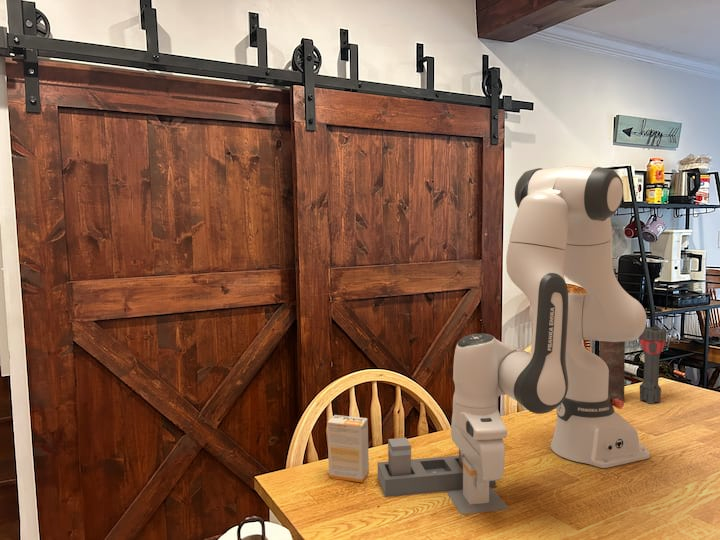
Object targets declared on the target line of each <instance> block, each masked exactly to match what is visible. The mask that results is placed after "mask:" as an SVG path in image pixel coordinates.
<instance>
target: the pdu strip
mask: <svg viewBox="0 0 720 540" xmlns="http://www.w3.org/2000/svg"><path fill="white" fill-rule="evenodd" d="M377 480H378V483H379V485H380V487H381V489H382V493H383V494H384V495H383V496H384V497H385V498H389V497H399V496H408V495H420V494H427V493H428V494H429V493H431V494H432V493H440V492H446V491H450V490H460V489H463V469H462V468H461V466H460V465H459V454H458V455H447V456H437V457H435V456H434V457H425V458H424V457H423V458H414V459H413V458H411V475H401V476H389V474H388V461H378V462H377ZM496 481H497V480H495V481H489V487H492V488H493V487H496Z"/></svg>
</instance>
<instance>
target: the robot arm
mask: <svg viewBox="0 0 720 540" xmlns="http://www.w3.org/2000/svg"><path fill="white" fill-rule="evenodd" d="M623 197H624V183H623V180H622V177H621V176H620V175H619V174H618V173H617V172H616V170H615V169H611V168H607V167H600V166H597V167H588V166H575V165H574V166H573V165H570V166H569V165H568V166H564V167H562V166H561V167H551V168H541V167H539V168H533V169H530V170H526V171H524V172H523V174H522V175H521V176H520V177H519V178H518V180H517V182H516V185H515V188H514V201H515V204H516V207H517V211H516V215H515V218H514V220H513V224H512V227H511V230H510V235H509V240H508V244H507V245H508V246H507V250H506V251H507V252H506V264H505V265H506V273H507V275H508V277H509V279H510V280H511V282H512V283H513V284H514V285H515V286H516V287H517V288H518V289H519V290H520V291H521V292H522V293H523V294H524V295H525V296H526V298H527V300H528V302H529V304H530V308H529V312H528V313H529V314H528V315H529V316H528V317H529V320H530V323H531V325H532V333H531V334H532V336H531V347H530V352H528V351H525V350H523V349H522V348H518V347H514V346H511V345H508V344H506V343H504V342H502V341H500V340H499V339H496V337H495V336H493V335H492V334H489V333H473V334H468V335H466V336H464V337H462V338H461V339H459V340H458V342H457V343H456V346H455V349H454V357H453V373H452V375H453V376H452V380H453V383H454V384H453V385H454V393H453V395H452V396H453V397H452V416H451V426H450V435H451V436H450V437H451V441H452V442H453V444H454V445H455V446H456V447H457V449H458V450H459V449H460V451H461V458H462V462H463V457H466V458H467V460H468V461H469V462H470V463H471V465H472V466H473V467H474V468H475V470H476V471H477V475H478V476H477V479H475V487H476V488H477V490H478V491H485V490H486V482H487V481H495V480H496V481H501V479H502V477H503V476H504V473H505V472H504V471H505V455H506V447H505V441H504V439H507V436H508V429H507V426H506V424H505V423H504V421H503V419H502V417H501V414H500V411H499V407H498V406H499V400H498V399H499V397H500V396H508V397H509V398H511V399H513V400H515V401H516V402H517V403H518V404H520V405H521V406H522V407H523V408H525V409H526V410H527V411H529V412H531V413H533V414H537V415H541V414H542V415H543V414H547V413H550V412H553V411H554V410H555V409H556V415H557V416H556V422H555V429H554V432H553V433H554V434H553V437H552V440H551V443H550V445H549V446H550V449H551V451H552V452H554V453H555V454H556V455H558V456H559V457H562V458H564V459H566V460H570V461H573V462H576V463H581V464H582V463H583V464H588V465H591V466H594V467H596V468H601V469H606V468H607V469H608V468H612V467H616V466H621V465H626V464H629V463H634V462H638V461H643V460H648V459H650V458H651V455H650V451H649V449H647V448H646V447H645V445H643V444H642V443H640V438H639V433H638V431H637V429H636V428H635V426H634V425H633V424H631V423H630V422H629V421H627V420H626V419H625V418H623V416H622V415H620V414H619V413H617V411H615V409H614V407H615V408H617V409H618V410H621V409H623V408H624V407H625V402H623V401H620V400H619V399H614V400H613V398H612V397H610V396H608V381H609V369H608V366H607V364H606V363H605V362H604V361H603V360H602V359H601V358H600V357H599V355H597V354H595V353H593V352H591V351H590V350H588V349H587V348H586V346H585V345H584V344H583V341H582V340H589V341H598V342H599V341H607V342H623V341H625V342H633V341H636V340H637V339H640V338H639V337H640V336H641V334H642V333H643V332H644V330H645V327H646V326H647V320H648V319H647V314H646V310H645V308H644V307H643V305H642V303H640V301H639V300H637V299H636V298H635V297H633V296H632V295H630V294H629V293H628V292H627V291H626V290H625V289H624V288H623V287H622V286H621V284H620V283H619V281H618V279H617V277H616V273H615V271H614V265H613V253H612V251H613V250H612V246H613V245H612V241H613V239H612V234H613V233H612V232H613V231H612V222H611V221H612V220H611V217H612V216H614V214H615V213H616V212H617V211H618V210H619V209H620V206H621V203H622V200H623ZM565 277H566V278H567V279H568V281H571V282H572V283H575V284H577V285H579V286H580V287H581V288H582V289H583V290H584V291H585V292H586V293H580V292H578V293H577V292H569V290H568V289H569V288H568V285H567V283H566V280H565Z"/></svg>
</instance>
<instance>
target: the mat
mask: <svg viewBox="0 0 720 540" xmlns="http://www.w3.org/2000/svg"><path fill="white" fill-rule="evenodd" d="M445 492H446V493H447V495H448V497H449V498H450V500H451V501H452V504H453V505H454V506H455V508H456V509H457V511H458V512H459V514H460V515H466V514H467V515H470V514H471V515H472V514H479V513H490V512H497V511H498V512H500V511H507V510H508V511H509V510H510V507H508V505H507V503H505V502H504V500H503V499H502V498H501V497H500V495H499V494H498V493H497V492H496V491H495V489H493V487H489V503H481V504H471V505H470V504H469V502H468V501H467V500H466V498H465V497H464V495H463V489H460V490H450V491H445Z"/></svg>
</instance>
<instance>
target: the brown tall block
mask: <svg viewBox="0 0 720 540" xmlns="http://www.w3.org/2000/svg"><path fill="white" fill-rule="evenodd" d="M598 342H599V344H598V351H599V352H598V354H599V355H598V356H599V357H600V358H601V359H602V360H603V361H604V362H605V363H606V364H607V366H608V369H609V381H608V396H610V397H612V398H613V400H614V399H619V400H620V401H623V403H625V358H626V357H625V356H626V355H625V354H626V353H625V350H626V347H625V345H626V343H625V342H626V341H623V342H607V341H598Z"/></svg>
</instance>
